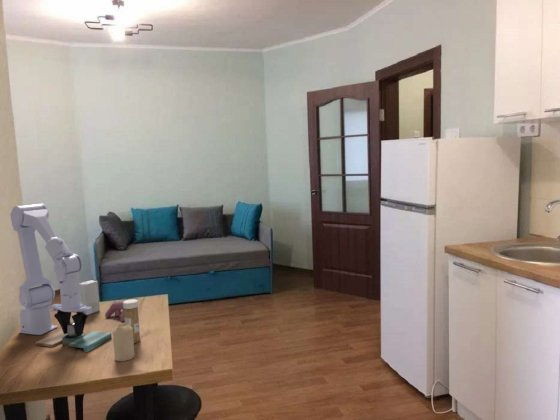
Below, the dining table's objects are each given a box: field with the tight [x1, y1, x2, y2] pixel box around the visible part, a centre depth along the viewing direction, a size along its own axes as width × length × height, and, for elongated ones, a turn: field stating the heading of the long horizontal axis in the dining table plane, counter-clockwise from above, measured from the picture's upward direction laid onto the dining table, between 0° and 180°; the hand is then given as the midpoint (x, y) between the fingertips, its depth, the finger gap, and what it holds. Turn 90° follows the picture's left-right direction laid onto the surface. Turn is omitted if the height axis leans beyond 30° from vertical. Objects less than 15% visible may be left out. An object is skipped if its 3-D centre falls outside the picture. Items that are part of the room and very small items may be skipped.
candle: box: [112, 322, 135, 362], centre depth 136 cm, size 6×6×10 cm
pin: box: [67, 321, 80, 339], centre depth 149 cm, size 4×4×6 cm
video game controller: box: [104, 300, 125, 322], centre depth 171 cm, size 10×5×7 cm, turn 59°
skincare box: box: [79, 279, 101, 315], centre depth 177 cm, size 6×4×12 cm
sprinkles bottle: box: [123, 298, 141, 344], centre depth 147 cm, size 5×5×14 cm
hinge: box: [34, 329, 113, 353], centre depth 149 cm, size 21×11×2 cm, turn 72°
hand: (73, 333), depth 149 cm, fingers open, 5 cm apart
